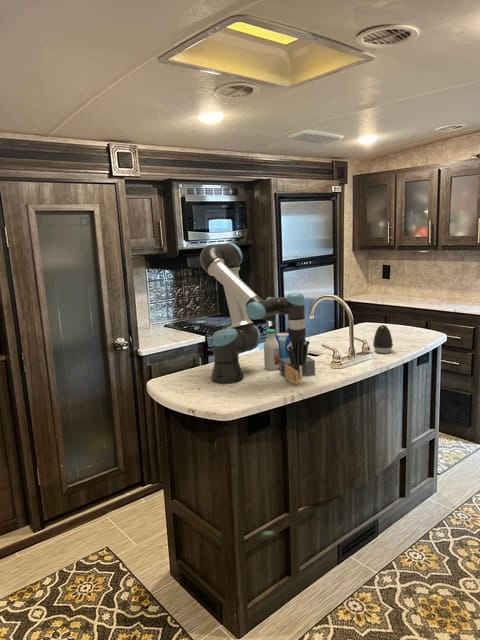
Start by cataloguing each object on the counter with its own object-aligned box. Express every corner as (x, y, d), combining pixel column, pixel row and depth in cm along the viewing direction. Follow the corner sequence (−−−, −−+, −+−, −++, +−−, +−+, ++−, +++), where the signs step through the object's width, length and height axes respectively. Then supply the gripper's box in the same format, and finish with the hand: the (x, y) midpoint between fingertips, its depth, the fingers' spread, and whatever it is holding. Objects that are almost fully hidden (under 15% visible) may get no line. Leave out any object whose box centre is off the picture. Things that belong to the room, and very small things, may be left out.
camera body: (284, 378, 219) (283, 362, 217) (277, 372, 228) (277, 357, 227) (315, 374, 222) (314, 358, 221) (307, 369, 232) (306, 354, 230)
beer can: (291, 366, 238) (290, 335, 235) (275, 366, 240) (273, 335, 237) (292, 361, 246) (291, 332, 243) (277, 361, 248) (275, 332, 245)
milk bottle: (269, 371, 231) (268, 332, 228) (261, 368, 238) (260, 329, 235) (282, 368, 235) (281, 329, 231) (274, 365, 242) (273, 327, 238)
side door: (283, 377, 218) (282, 364, 217) (286, 376, 219) (286, 363, 217) (295, 384, 207) (295, 370, 206) (298, 384, 207) (298, 370, 206)
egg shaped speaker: (372, 354, 253) (372, 326, 250) (374, 349, 262) (374, 323, 260) (391, 355, 249) (392, 327, 246) (393, 350, 258) (393, 323, 256)
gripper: (292, 331, 201) (294, 384, 205) (313, 326, 208) (315, 377, 212) (280, 329, 206) (283, 380, 211) (301, 324, 214) (303, 374, 218)
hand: (299, 378), depth 212 cm, fingers closed
